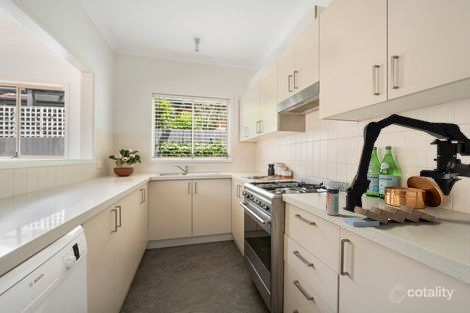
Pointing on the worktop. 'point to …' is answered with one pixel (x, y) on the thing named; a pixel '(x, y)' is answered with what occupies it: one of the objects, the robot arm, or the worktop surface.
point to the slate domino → (361, 221)
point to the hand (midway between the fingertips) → (446, 195)
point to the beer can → (332, 200)
